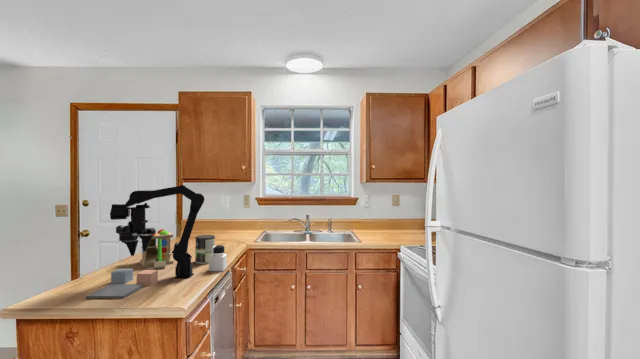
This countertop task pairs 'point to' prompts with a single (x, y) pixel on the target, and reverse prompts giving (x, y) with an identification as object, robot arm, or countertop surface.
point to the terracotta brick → (147, 277)
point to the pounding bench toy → (158, 251)
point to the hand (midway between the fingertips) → (138, 253)
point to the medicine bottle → (218, 259)
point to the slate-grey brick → (121, 276)
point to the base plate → (115, 291)
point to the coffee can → (204, 248)
